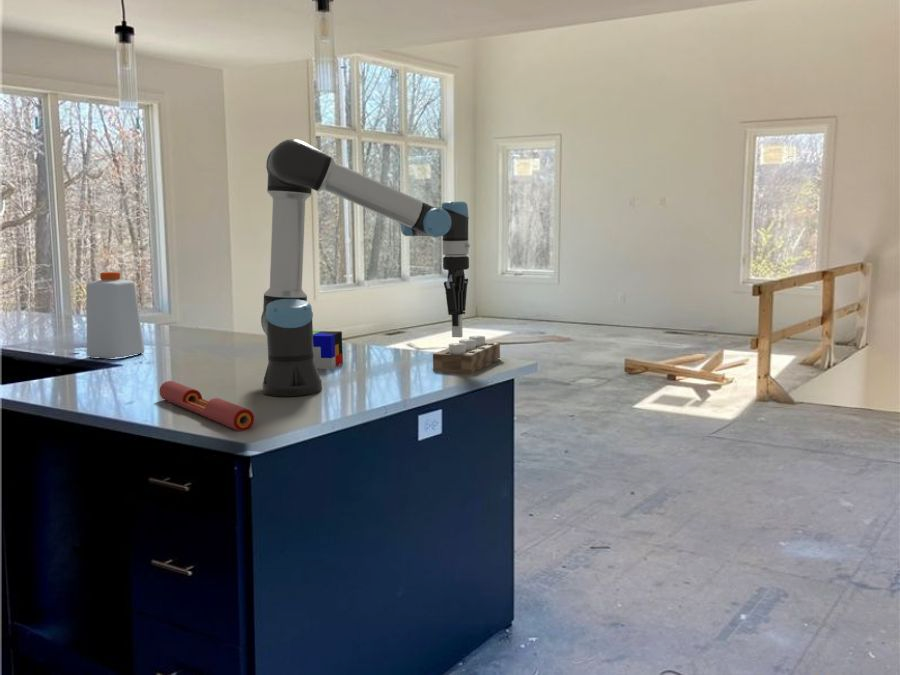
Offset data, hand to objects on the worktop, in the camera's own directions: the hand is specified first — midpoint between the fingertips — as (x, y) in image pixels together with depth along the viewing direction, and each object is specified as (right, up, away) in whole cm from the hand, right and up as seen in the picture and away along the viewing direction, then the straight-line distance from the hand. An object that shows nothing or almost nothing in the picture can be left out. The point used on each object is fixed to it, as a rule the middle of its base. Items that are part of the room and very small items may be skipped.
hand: (457, 336), depth 239 cm
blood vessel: (-59, -18, -49) cm, 79 cm away
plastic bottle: (-114, -7, +35) cm, 119 cm away
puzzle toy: (-41, -9, +12) cm, 44 cm away
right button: (+6, -4, +15) cm, 17 cm away
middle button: (+3, -5, +8) cm, 10 cm away
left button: (0, -6, +1) cm, 7 cm away
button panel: (+3, -8, +9) cm, 13 cm away
